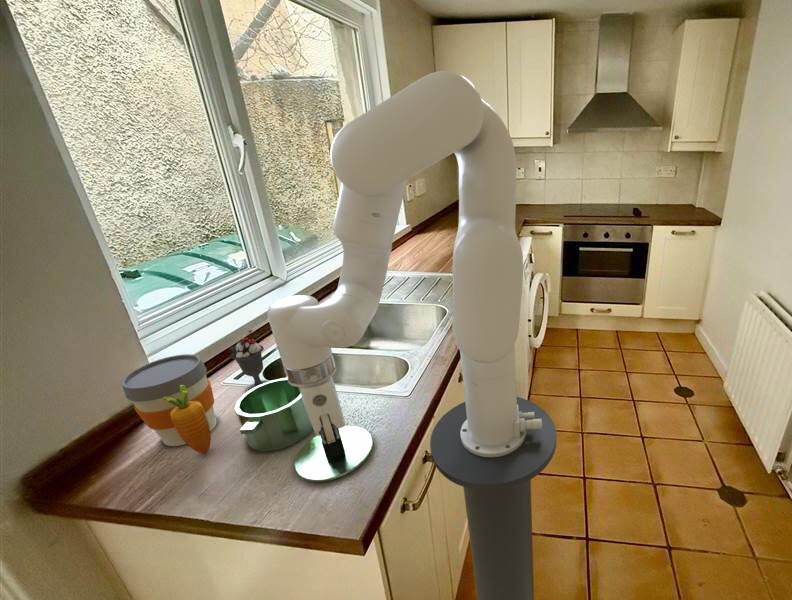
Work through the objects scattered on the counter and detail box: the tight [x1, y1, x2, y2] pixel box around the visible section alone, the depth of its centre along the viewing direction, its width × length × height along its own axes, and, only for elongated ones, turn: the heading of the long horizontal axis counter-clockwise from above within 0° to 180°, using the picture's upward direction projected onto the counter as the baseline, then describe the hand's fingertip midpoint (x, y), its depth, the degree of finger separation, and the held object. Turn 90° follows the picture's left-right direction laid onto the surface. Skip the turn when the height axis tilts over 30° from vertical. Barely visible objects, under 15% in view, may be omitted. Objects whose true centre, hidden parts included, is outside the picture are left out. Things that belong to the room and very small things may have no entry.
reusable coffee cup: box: [121, 353, 217, 447], centre depth 79 cm, size 13×13×15 cm
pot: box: [233, 376, 314, 453], centre depth 80 cm, size 13×18×8 cm
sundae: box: [228, 329, 270, 392], centre depth 93 cm, size 7×7×15 cm
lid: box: [294, 425, 374, 483], centre depth 73 cm, size 14×14×7 cm
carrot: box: [163, 385, 212, 455], centre depth 73 cm, size 5×5×15 cm
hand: (334, 449), depth 73 cm, fingers closed on lid, 2 cm apart
